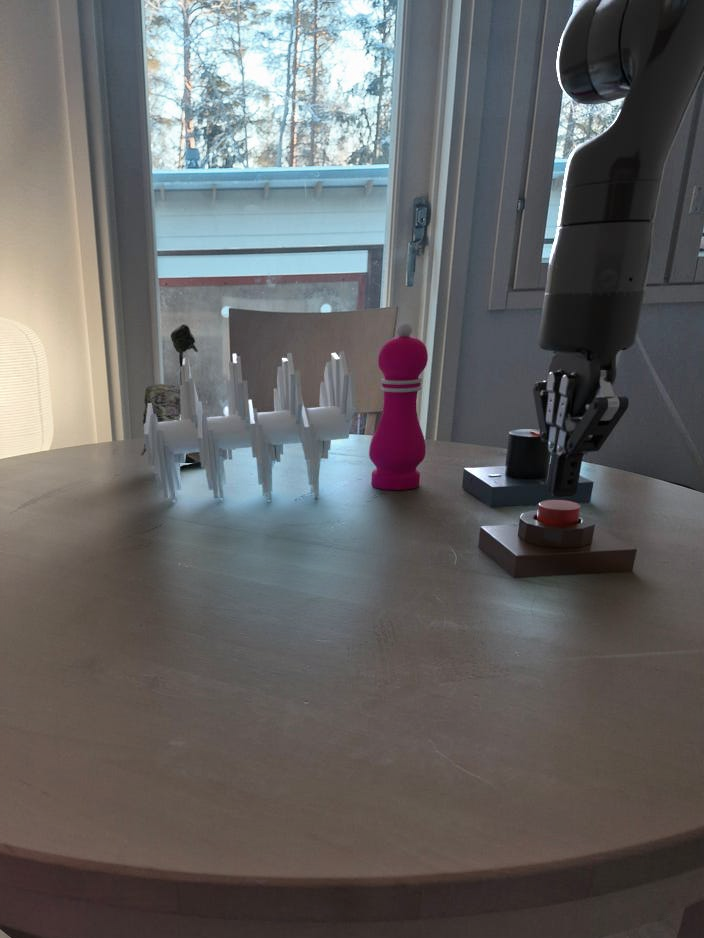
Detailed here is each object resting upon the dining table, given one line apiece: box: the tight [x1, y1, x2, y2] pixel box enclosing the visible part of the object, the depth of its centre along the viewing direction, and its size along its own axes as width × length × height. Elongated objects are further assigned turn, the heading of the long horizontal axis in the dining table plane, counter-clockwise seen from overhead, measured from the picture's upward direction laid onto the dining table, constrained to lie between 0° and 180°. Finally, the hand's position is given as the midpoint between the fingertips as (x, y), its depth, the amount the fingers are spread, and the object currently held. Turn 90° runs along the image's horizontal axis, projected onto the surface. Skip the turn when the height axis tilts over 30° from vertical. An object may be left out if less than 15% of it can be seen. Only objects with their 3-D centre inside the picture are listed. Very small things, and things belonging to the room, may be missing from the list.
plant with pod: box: [140, 323, 201, 464], centre depth 111 cm, size 8×11×20 cm
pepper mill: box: [368, 322, 429, 491], centre depth 95 cm, size 7×7×20 cm
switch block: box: [477, 509, 638, 579], centre depth 70 cm, size 11×9×4 cm
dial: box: [504, 428, 552, 479], centre depth 90 cm, size 5×5×5 cm
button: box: [536, 500, 582, 526], centre depth 69 cm, size 4×4×2 cm
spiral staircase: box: [143, 350, 358, 501], centre depth 92 cm, size 18×18×25 cm
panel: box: [461, 464, 594, 509], centre depth 92 cm, size 12×10×3 cm
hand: (560, 494), depth 69 cm, fingers closed
